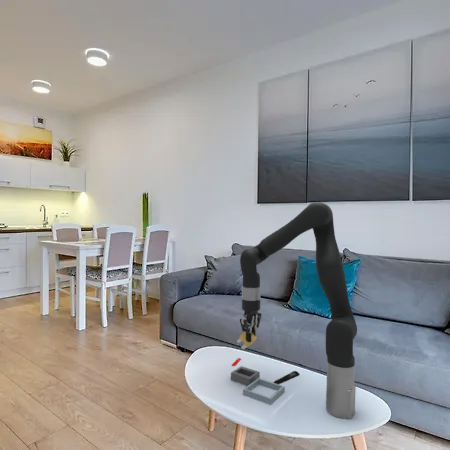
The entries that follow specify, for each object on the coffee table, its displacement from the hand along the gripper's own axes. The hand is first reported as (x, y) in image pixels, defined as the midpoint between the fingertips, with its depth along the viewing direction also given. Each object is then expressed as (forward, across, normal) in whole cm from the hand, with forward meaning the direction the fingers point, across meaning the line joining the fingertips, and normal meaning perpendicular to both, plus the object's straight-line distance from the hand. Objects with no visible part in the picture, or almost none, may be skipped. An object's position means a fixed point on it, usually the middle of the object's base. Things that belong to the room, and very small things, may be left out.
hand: (250, 340), depth 136 cm
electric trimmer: (+19, +13, -10) cm, 25 cm away
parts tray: (+19, -4, -9) cm, 21 cm away
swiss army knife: (+19, +14, +16) cm, 28 cm away
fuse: (+3, 0, +4) cm, 5 cm away
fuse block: (+18, +1, +3) cm, 19 cm away
